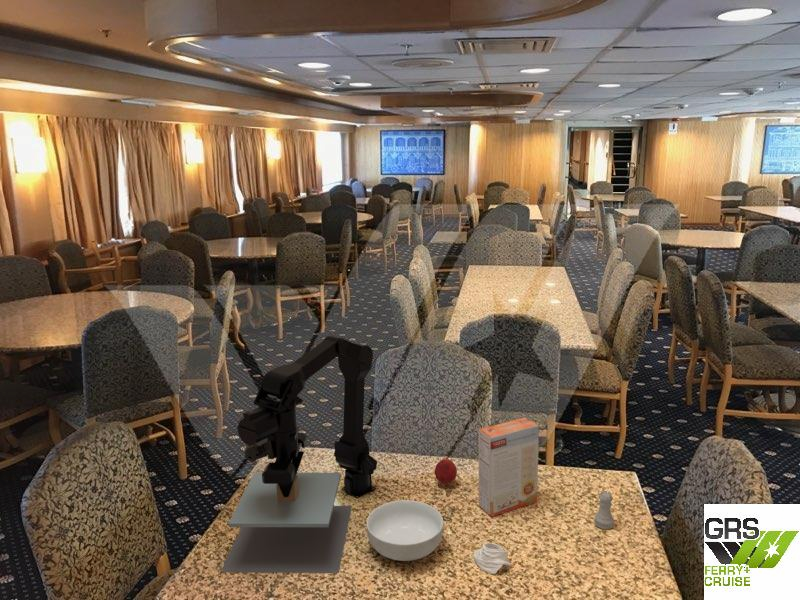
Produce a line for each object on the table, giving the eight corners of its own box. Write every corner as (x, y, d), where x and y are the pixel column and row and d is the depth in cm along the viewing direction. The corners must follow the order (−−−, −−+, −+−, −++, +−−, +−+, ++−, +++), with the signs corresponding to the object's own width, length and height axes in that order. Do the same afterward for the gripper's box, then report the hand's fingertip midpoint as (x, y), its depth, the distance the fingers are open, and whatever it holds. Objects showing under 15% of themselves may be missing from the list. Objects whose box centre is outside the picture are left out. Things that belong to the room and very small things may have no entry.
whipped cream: (467, 566, 134) (465, 546, 133) (486, 549, 139) (484, 530, 137) (498, 581, 129) (496, 560, 127) (517, 562, 133) (515, 543, 132)
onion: (455, 491, 161) (455, 463, 159) (433, 489, 162) (433, 461, 160) (458, 479, 167) (458, 452, 165) (436, 478, 168) (436, 450, 166)
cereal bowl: (387, 583, 128) (387, 553, 126) (355, 540, 142) (354, 512, 141) (458, 557, 135) (458, 528, 134) (420, 518, 150) (420, 492, 148)
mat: (251, 507, 156) (251, 505, 156) (351, 507, 155) (351, 505, 155) (220, 574, 132) (220, 572, 131) (338, 574, 131) (338, 572, 131)
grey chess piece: (615, 521, 147) (617, 491, 145) (612, 532, 143) (614, 500, 141) (595, 517, 149) (597, 487, 147) (592, 527, 145) (594, 496, 143)
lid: (254, 475, 151) (252, 457, 150) (341, 475, 151) (340, 457, 150) (228, 527, 131) (226, 506, 130) (328, 527, 130) (327, 506, 129)
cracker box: (523, 491, 161) (525, 415, 156) (538, 503, 155) (540, 425, 150) (476, 505, 155) (477, 427, 150) (490, 518, 149) (491, 437, 144)
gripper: (257, 409, 146) (262, 470, 150) (234, 447, 128) (240, 515, 132) (305, 409, 146) (309, 470, 149) (288, 447, 127) (293, 515, 131)
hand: (288, 491), depth 140 cm, fingers closed on lid, 4 cm apart
